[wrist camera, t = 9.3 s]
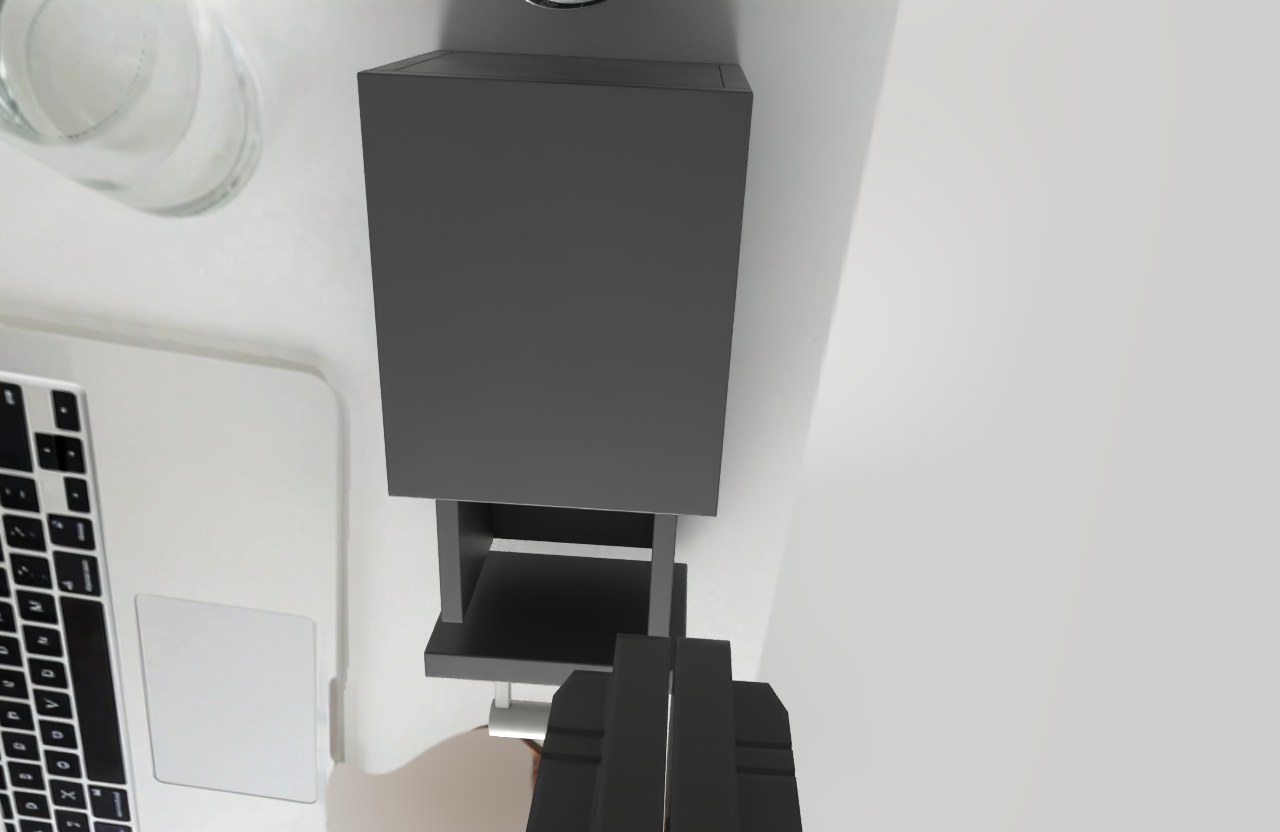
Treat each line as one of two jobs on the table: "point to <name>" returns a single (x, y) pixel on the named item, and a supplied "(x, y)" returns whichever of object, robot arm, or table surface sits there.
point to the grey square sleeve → (555, 275)
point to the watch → (565, 3)
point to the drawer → (546, 599)
